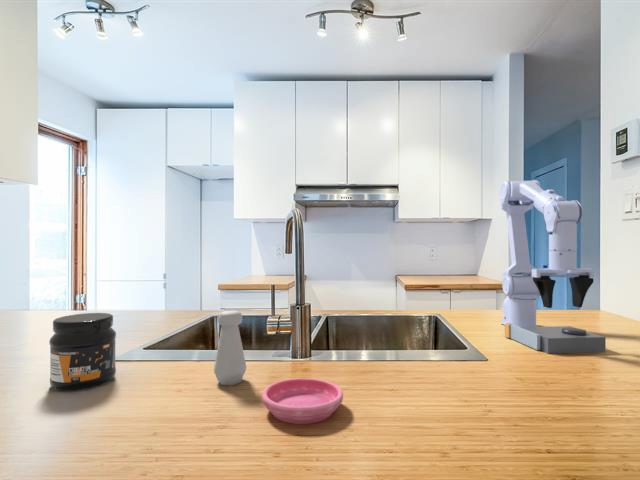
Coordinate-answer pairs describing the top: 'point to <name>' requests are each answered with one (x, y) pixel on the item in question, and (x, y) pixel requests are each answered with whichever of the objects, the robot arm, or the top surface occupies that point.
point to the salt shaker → (230, 350)
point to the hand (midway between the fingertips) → (562, 307)
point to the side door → (522, 336)
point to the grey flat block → (568, 340)
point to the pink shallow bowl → (302, 400)
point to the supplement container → (82, 351)
